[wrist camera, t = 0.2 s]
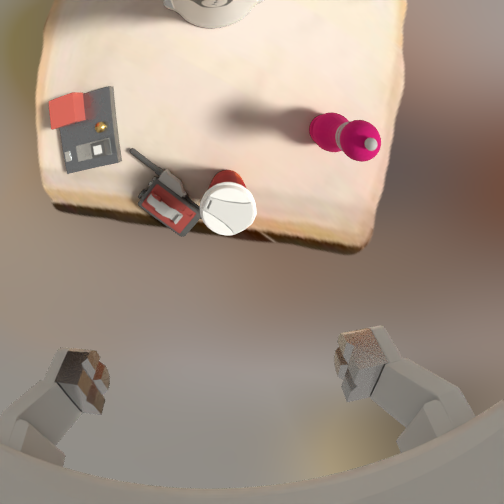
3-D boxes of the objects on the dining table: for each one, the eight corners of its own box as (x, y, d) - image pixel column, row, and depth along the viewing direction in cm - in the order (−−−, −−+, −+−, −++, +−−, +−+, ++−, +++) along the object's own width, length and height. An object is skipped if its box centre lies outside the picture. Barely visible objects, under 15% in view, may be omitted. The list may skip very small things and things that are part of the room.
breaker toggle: (95, 142, 44) (89, 144, 42) (108, 138, 45) (103, 140, 42) (98, 156, 46) (92, 158, 43) (110, 153, 46) (105, 155, 44)
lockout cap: (59, 100, 39) (48, 101, 36) (83, 92, 40) (72, 92, 36) (62, 127, 42) (51, 129, 38) (85, 119, 42) (75, 121, 39)
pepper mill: (317, 154, 52) (363, 181, 35) (299, 122, 49) (339, 133, 31) (348, 137, 51) (403, 157, 33) (331, 105, 47) (383, 109, 30)
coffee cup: (198, 195, 54) (190, 226, 41) (216, 157, 51) (213, 175, 38) (238, 211, 56) (242, 247, 43) (257, 175, 53) (267, 199, 40)
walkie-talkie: (215, 205, 56) (135, 143, 48) (214, 213, 52) (128, 147, 44) (188, 236, 58) (111, 179, 51) (185, 246, 54) (103, 185, 47)
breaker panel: (62, 102, 41) (55, 103, 39) (113, 86, 42) (107, 86, 39) (71, 171, 48) (65, 175, 46) (121, 160, 49) (116, 163, 46)
